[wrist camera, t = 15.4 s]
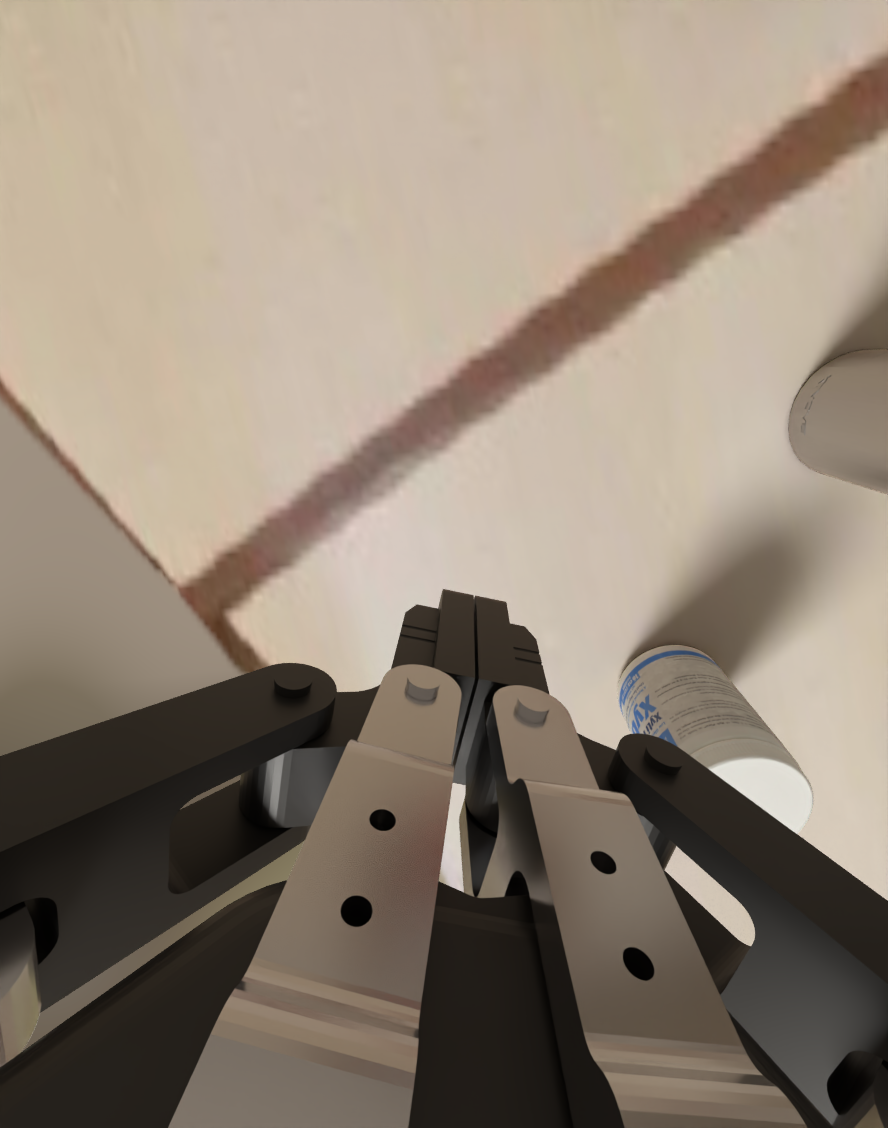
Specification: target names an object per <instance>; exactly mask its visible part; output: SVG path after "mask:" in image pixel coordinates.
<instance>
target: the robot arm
mask: <svg viewBox="0 0 888 1128" xmlns="http://www.w3.org/2000/svg"><path fill="white" fill-rule="evenodd" d="M788 430H789V439H790V443H791V445H792V448H793V451H794V453H795V454H796V455H797V457H798V458H799V460H800V461H801V462H802V463H804V464H805V465H806V466H807V467H808V468H810V469H812V470H814V471H816V472H818V473H821V474H824V475H828V476H831V477H834V478H837V479H840V480H843V481H847V482H850V483H852V484H855V485H859V486H862V487H865V488H868V489H871V490H875V491H878V492H881V493H884V494H887V495H888V349H874V350H860V351H855V352H850V353H847V354H845V355H842V356H840V357H837V358H835V359H833V360H832V361H830V362H829V363H827V364H825V365H824V366H822V367H821V368H820V369H819V370H818V371H817V372H816V373H814V374H813V375H812V376H811V377H810V378H809V380H808V381H807V382H806V383H805V385H804V386H803V387H802V388H801V390H800V392H799V394H798V396H797V397H796V399H795V401H794V404H793V407H792V410H791V413H790V417H789V427H788ZM541 663H542V662H541V658H540V655H539V649H538V645H537V641H536V639H535V638H534V636H533V635H532V634H531V633H530V632H529V631H528V630H527V629H526V628H525V627H524V626H520V625H515V624H510V622H509V616H508V610H507V603H506V602H504V601H499V600H494V599H489V598H484V597H480V596H475V598H474V596H473V595H469V594H465V593H460V592H455V591H450V590H445V589H443V591H442V595H441V599H440V603H439V608H438V609H437V608H432V607H427V606H422V605H416V606H414V607H413V608H411V609H410V610H409V611H407V612H406V613H405V617H404V621H403V625H402V628H401V632H400V636H399V640H398V644H397V648H396V652H395V656H394V660H393V664H392V668H391V670H389V671H388V672H387V673H386V674H385V676H384V677H383V680H382V682H381V684H380V685H379V686H377V687H375V688H372V689H369V690H365V691H359V692H337V689H336V685H335V682H334V681H333V679H332V678H331V677H330V676H329V675H328V674H327V673H325V672H324V671H322V670H320V669H318V668H315V667H312V666H309V665H305V664H298V663H282V664H276V665H272V666H268V667H265V668H262V669H259V670H256V671H253V672H250V673H247V674H244V675H241V676H238V677H235V678H232V679H229V680H226V681H223V682H220V683H217V684H214V685H211V686H208V687H206V688H202V689H199V690H197V691H193V692H190V693H187V694H184V695H181V696H178V697H175V698H173V699H170V700H167V701H164V702H161V703H158V704H155V705H152V706H149V707H146V708H143V709H140V710H137V711H134V712H131V713H128V714H125V715H122V716H119V717H116V718H113V719H110V720H107V721H104V722H101V723H98V724H95V725H92V726H89V727H86V728H83V729H80V730H77V731H74V732H71V733H68V734H65V735H62V736H60V737H56V738H53V739H51V740H47V741H44V742H41V743H39V744H35V745H33V746H29V747H27V748H24V749H21V750H17V751H14V752H11V753H9V754H6V755H3V756H0V1128H888V901H887V900H886V899H884V898H883V897H882V896H880V895H879V894H878V893H876V892H875V891H874V890H872V889H871V888H869V887H868V886H867V885H865V884H864V883H863V882H861V881H860V880H859V879H857V878H856V877H854V876H853V875H852V874H850V873H849V872H848V871H846V870H845V869H844V868H842V867H841V866H840V865H838V864H837V863H835V862H834V861H833V860H831V859H830V858H829V857H827V856H826V855H825V854H823V853H822V852H821V851H819V850H818V849H816V848H815V847H814V846H812V845H811V844H810V843H808V842H807V841H806V840H804V839H803V838H801V837H800V836H799V835H797V834H796V833H795V832H793V831H792V830H791V829H789V828H788V827H787V826H785V825H784V824H782V823H781V822H780V821H778V820H777V819H776V818H774V817H773V816H772V815H770V814H769V813H768V812H766V811H765V810H763V809H762V808H761V807H759V806H758V805H757V804H755V803H754V802H753V801H751V800H750V799H748V798H747V797H746V796H744V795H743V794H742V793H740V792H739V791H738V790H736V789H735V788H734V787H732V786H731V785H729V784H728V783H727V782H725V781H724V780H723V779H721V778H720V777H719V776H717V775H716V774H714V773H713V772H712V771H710V770H709V769H708V768H706V767H705V766H704V765H702V764H701V763H700V762H698V761H697V760H695V759H694V758H693V757H691V756H690V755H689V754H687V753H686V752H685V751H683V750H682V749H680V748H679V747H677V746H675V745H674V744H672V743H670V742H668V741H666V740H664V739H661V738H658V737H656V736H652V735H648V734H640V733H635V734H629V735H626V736H624V737H623V738H622V739H621V740H620V742H619V744H618V747H617V749H616V750H614V749H612V748H609V747H607V746H604V745H602V744H600V743H597V742H595V741H592V740H590V739H588V738H586V737H584V736H582V735H580V734H578V733H577V732H576V729H575V727H574V724H573V722H572V719H571V717H570V714H569V712H568V710H567V709H566V708H565V707H564V705H563V704H562V703H561V702H559V701H558V700H557V699H556V698H554V697H552V696H551V695H549V691H548V686H547V682H546V678H545V674H544V670H543V666H542V665H541ZM240 774H241V778H240V780H239V781H237V782H236V783H233V784H232V785H229V786H227V787H225V788H223V789H221V790H219V791H217V792H215V793H213V794H211V795H209V796H207V797H205V798H203V799H201V800H199V801H197V802H195V803H193V804H191V805H189V806H187V807H185V808H183V809H181V808H182V807H183V806H184V805H185V804H186V803H187V802H188V801H190V800H191V799H193V798H194V797H196V796H197V795H199V794H201V793H203V792H206V791H208V790H210V789H212V788H214V787H216V786H218V785H220V784H222V783H224V782H226V781H228V780H230V779H232V778H234V777H236V776H238V775H240ZM452 783H457V784H462V785H466V795H465V799H464V802H463V806H462V809H461V813H460V816H459V828H460V842H461V857H462V871H463V886H464V893H463V892H461V891H459V890H457V889H455V888H452V887H450V886H448V885H446V884H443V883H441V882H439V874H440V867H441V860H442V853H443V846H444V839H445V832H446V825H447V818H448V811H449V804H450V797H451V790H452ZM180 809H181V810H180ZM304 840H305V841H304ZM303 841H304V844H303V846H302V848H301V851H300V853H299V855H298V857H297V859H296V862H295V864H294V866H293V868H292V871H291V873H290V875H289V878H288V880H287V881H282V882H279V883H276V884H272V885H269V886H266V887H264V888H261V889H259V890H257V891H254V892H252V893H250V894H247V895H245V896H244V897H242V898H240V899H238V900H236V901H234V902H233V903H231V904H229V905H227V906H226V907H224V908H223V909H221V910H220V911H218V912H217V913H216V914H214V915H213V916H211V917H210V918H209V919H207V920H206V921H205V922H203V923H201V924H200V925H199V926H197V927H196V928H194V929H193V930H192V931H190V932H189V933H188V934H186V935H185V936H183V937H182V938H181V939H179V940H178V941H176V942H175V943H174V944H172V945H171V946H169V947H168V948H167V949H165V950H164V951H162V952H161V953H160V954H158V955H157V956H155V957H154V958H153V959H151V960H150V961H148V962H147V963H146V964H144V965H143V966H141V967H140V968H139V969H137V970H136V971H134V972H133V973H132V974H130V975H129V976H127V977H126V978H125V979H123V980H122V981H120V982H119V983H118V984H116V985H115V986H113V987H112V988H111V989H109V990H108V991H106V992H105V993H104V994H102V995H101V996H100V997H98V998H97V999H95V1000H94V1001H92V1002H91V1003H90V1004H88V1005H87V1006H86V1007H84V1008H83V1009H81V1010H80V1011H78V1012H77V1013H76V1014H74V1015H73V1016H72V1017H70V1018H69V1019H67V1020H66V1021H64V1022H63V1023H62V1024H60V1025H59V1026H57V1027H56V1028H55V1029H53V1030H52V1031H51V1032H49V1033H48V1034H46V1035H45V1036H43V1037H42V1038H41V1039H39V1040H38V1041H37V1042H35V1043H34V1044H32V1045H31V1046H30V1047H28V1048H27V1049H25V1050H24V1051H23V1052H22V1050H23V1049H24V1047H25V1046H26V1044H27V1043H28V1041H29V1039H30V1037H31V1035H32V1033H33V1031H34V1029H35V1027H36V1024H37V1021H38V1018H39V1014H40V1013H41V1012H42V1011H44V1010H45V1009H47V1008H48V1007H50V1006H51V1005H53V1004H54V1003H56V1002H58V1001H59V1000H61V999H62V998H64V997H65V996H67V995H68V994H70V993H71V992H73V991H75V990H76V989H78V988H79V987H81V986H82V985H84V984H85V983H87V982H88V981H90V980H91V979H93V978H94V977H96V976H98V975H99V974H101V973H102V972H104V971H105V970H107V969H108V968H110V967H111V966H113V965H114V964H116V963H117V962H119V961H120V960H122V959H123V958H125V957H127V956H128V955H130V954H131V953H133V952H134V951H136V950H137V949H139V948H140V947H142V946H144V945H145V944H146V943H148V942H150V941H151V940H153V939H154V938H156V937H157V936H159V935H160V934H162V933H163V932H165V931H166V930H168V929H170V928H171V927H173V926H174V925H176V924H177V923H179V922H180V921H182V920H183V919H185V918H187V917H188V916H190V915H191V914H193V913H194V912H196V911H197V910H199V909H200V908H202V907H203V906H205V905H206V904H208V903H209V902H211V901H213V900H214V899H216V898H217V897H219V896H220V895H222V894H223V893H225V892H226V891H228V890H229V889H231V888H233V887H234V886H236V885H237V884H239V883H240V882H242V881H243V880H245V879H246V878H248V877H249V876H251V875H252V874H254V873H256V872H257V871H259V870H260V869H262V868H263V867H265V866H266V865H268V864H269V863H271V862H272V861H274V860H276V859H277V858H278V857H280V856H281V855H283V854H285V853H286V852H288V851H289V850H291V849H292V848H294V847H295V846H297V845H299V844H300V843H301V842H303ZM676 846H677V847H678V848H680V849H681V850H682V851H683V852H684V853H685V854H686V855H687V856H689V857H690V858H691V859H692V860H693V861H694V862H695V863H696V864H698V865H699V866H700V867H701V868H702V869H703V870H704V871H705V872H707V873H708V874H709V875H710V876H711V877H712V878H713V879H714V880H716V881H717V882H718V883H719V884H720V885H721V886H722V887H723V888H725V889H726V890H727V891H728V892H729V893H730V894H731V895H732V896H734V897H735V898H736V899H737V900H738V901H739V902H740V903H741V904H742V905H743V906H744V908H745V909H746V910H747V912H748V913H749V915H750V917H751V919H752V921H753V924H754V927H755V940H754V942H753V944H752V946H748V945H746V944H744V943H742V942H741V941H739V940H738V939H737V938H736V937H734V936H733V935H732V934H731V933H730V932H729V931H728V930H727V929H726V928H725V927H724V926H723V925H722V924H721V923H720V922H719V921H718V920H716V919H715V918H714V917H713V916H712V915H711V914H710V913H709V912H708V911H707V910H706V909H705V908H704V907H703V906H702V905H701V904H699V903H698V902H697V901H696V900H695V899H694V898H693V897H692V896H691V895H690V894H689V893H688V892H687V891H686V890H685V889H684V888H683V887H681V886H680V885H679V884H678V883H677V882H676V881H675V880H674V879H673V878H672V877H671V876H670V875H669V874H668V873H667V872H666V871H665V868H666V866H667V864H668V862H669V860H670V858H671V856H672V854H673V852H674V850H675V848H676Z"/></svg>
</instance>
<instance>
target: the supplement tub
mask: <svg viewBox="0 0 888 1128" xmlns="http://www.w3.org/2000/svg"><path fill="white" fill-rule="evenodd" d="M617 699H618V704H619V707H620V709H621V712H622V714H623V717H624V719H625V721H626V723H627V726H628V728H629V730H630V732H631V734H635V733H640V734H648V735H652V736H656V737H658V738H661V739H664V740H666V741H668V742H670V743H672V744H674V745H675V746H677V747H679V748H680V749H682V750H683V751H685V752H686V753H687V754H689V755H690V756H691V757H693V758H694V759H695V760H697V761H698V762H700V763H701V764H702V765H704V766H705V767H706V768H708V769H709V770H710V771H712V772H713V773H714V774H716V775H717V776H719V777H720V778H721V779H723V780H724V781H725V782H727V783H728V784H729V785H731V786H732V787H734V788H735V789H736V790H738V791H739V792H740V793H742V794H743V795H744V796H746V797H747V798H748V799H750V800H751V801H753V802H754V803H755V804H757V805H758V806H759V807H761V808H762V809H763V810H765V811H766V812H768V813H769V814H770V815H772V816H773V817H774V818H776V819H777V820H778V821H780V822H781V823H782V824H784V825H785V826H787V827H788V828H789V829H791V830H792V831H793V832H795V833H796V834H798V833H799V832H800V831H801V829H802V828H803V827H804V826H805V824H806V823H807V821H808V819H809V817H810V814H811V811H812V808H813V791H812V787H811V785H810V783H809V781H808V779H807V778H806V776H805V775H804V773H803V772H802V771H801V768H800V767H799V765H798V763H797V762H796V760H795V759H794V758H793V757H792V755H791V754H790V753H789V752H788V750H787V749H786V748H785V747H784V745H783V744H782V743H781V742H780V740H779V739H778V738H777V737H776V736H775V734H774V733H773V732H772V731H771V729H770V728H769V727H768V726H767V725H766V723H765V722H764V721H763V720H762V719H761V717H760V716H759V715H758V714H757V712H756V711H755V710H754V709H753V708H752V706H751V705H750V704H749V703H748V702H747V700H746V699H745V698H744V697H743V695H742V694H741V693H740V692H739V691H738V689H737V688H736V687H735V686H734V684H733V683H732V682H731V681H730V680H729V678H728V677H727V676H726V675H725V673H724V672H723V671H722V670H721V669H720V667H719V666H718V665H717V664H716V663H715V662H714V661H713V660H712V659H711V658H710V657H709V656H708V655H706V654H705V653H703V652H702V651H700V650H698V649H695V648H692V647H688V646H683V645H666V646H661V647H657V648H654V649H651V650H649V651H647V652H645V653H643V654H641V655H640V656H638V657H637V658H636V659H634V660H633V661H632V662H631V663H630V664H629V665H628V666H627V668H626V669H625V670H624V672H623V674H622V676H621V678H620V680H619V683H618V688H617Z"/></svg>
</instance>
